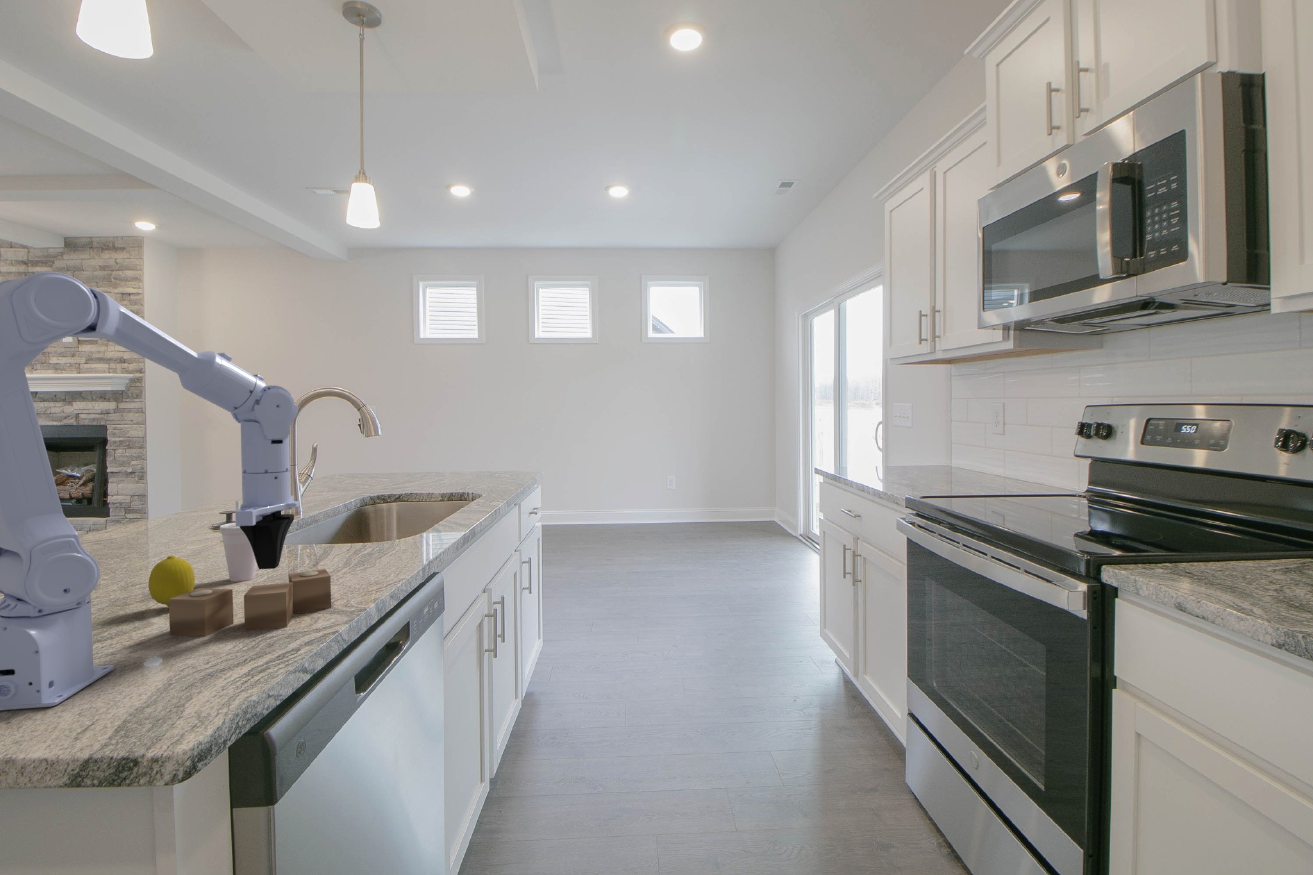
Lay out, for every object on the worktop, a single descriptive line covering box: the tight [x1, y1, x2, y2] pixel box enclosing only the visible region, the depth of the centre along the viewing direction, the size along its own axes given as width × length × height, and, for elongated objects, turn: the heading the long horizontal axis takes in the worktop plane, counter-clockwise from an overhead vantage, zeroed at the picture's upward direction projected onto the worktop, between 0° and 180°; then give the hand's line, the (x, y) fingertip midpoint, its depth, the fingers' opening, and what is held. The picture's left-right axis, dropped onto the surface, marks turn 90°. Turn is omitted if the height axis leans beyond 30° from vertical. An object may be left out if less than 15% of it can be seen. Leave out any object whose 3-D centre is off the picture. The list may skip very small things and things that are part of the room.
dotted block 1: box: [168, 587, 234, 638], centre depth 85 cm, size 5×5×5 cm
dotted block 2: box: [288, 568, 332, 615], centre depth 95 cm, size 5×5×5 cm
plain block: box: [243, 582, 294, 632], centre depth 88 cm, size 5×5×5 cm
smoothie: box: [218, 500, 257, 583], centre depth 110 cm, size 6×6×14 cm
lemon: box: [147, 555, 196, 608], centre depth 94 cm, size 6×6×8 cm
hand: (268, 567), depth 88 cm, fingers closed
